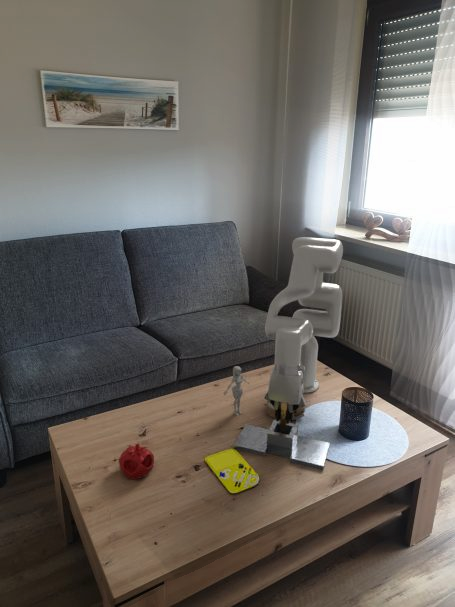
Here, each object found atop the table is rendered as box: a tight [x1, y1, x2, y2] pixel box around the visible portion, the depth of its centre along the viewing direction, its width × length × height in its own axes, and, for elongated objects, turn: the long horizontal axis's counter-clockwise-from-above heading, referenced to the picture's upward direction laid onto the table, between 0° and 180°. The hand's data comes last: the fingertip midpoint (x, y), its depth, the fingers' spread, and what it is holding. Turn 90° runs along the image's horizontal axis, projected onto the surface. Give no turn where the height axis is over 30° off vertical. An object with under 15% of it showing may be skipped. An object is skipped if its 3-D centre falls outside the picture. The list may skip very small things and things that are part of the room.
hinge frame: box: [233, 419, 330, 471], centre depth 151 cm, size 12×28×7 cm, turn 70°
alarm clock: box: [263, 400, 306, 422], centre depth 171 cm, size 11×5×15 cm
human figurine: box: [223, 365, 250, 416], centre depth 168 cm, size 12×4×18 cm, turn 132°
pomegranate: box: [118, 441, 155, 480], centre depth 139 cm, size 10×10×9 cm
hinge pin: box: [279, 402, 289, 427], centre depth 148 cm, size 3×3×10 cm
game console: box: [204, 448, 260, 496], centre depth 142 cm, size 18×11×2 cm, turn 30°
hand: (283, 419), depth 149 cm, fingers closed on hinge pin, 2 cm apart
